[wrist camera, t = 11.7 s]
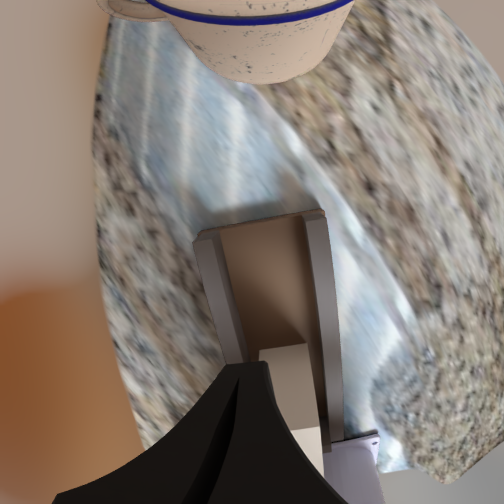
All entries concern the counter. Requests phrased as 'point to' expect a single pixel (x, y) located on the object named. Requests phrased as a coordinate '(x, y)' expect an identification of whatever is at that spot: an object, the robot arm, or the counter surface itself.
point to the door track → (278, 299)
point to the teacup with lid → (247, 32)
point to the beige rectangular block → (296, 397)
